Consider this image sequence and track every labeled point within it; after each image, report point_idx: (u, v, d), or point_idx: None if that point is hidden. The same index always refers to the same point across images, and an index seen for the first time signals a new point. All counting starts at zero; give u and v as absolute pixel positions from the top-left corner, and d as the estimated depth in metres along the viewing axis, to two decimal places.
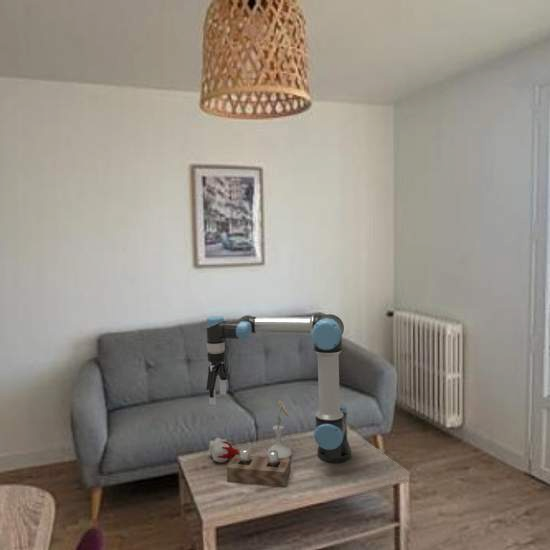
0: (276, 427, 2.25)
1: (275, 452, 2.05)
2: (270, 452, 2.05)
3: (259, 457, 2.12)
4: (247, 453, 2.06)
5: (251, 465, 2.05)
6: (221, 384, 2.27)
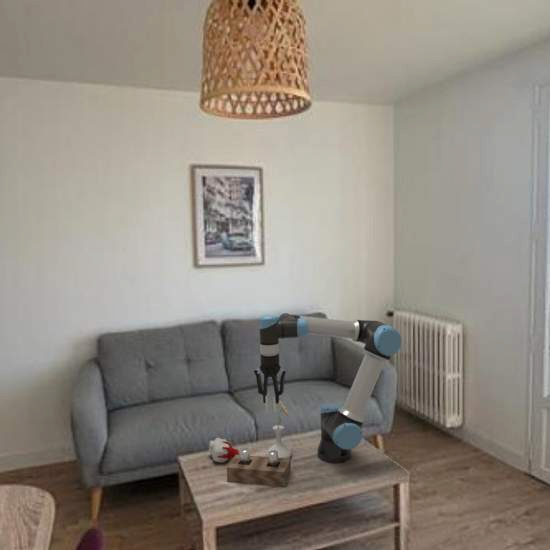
0: (276, 427, 2.25)
1: (275, 452, 2.05)
2: (270, 452, 2.05)
3: (259, 457, 2.12)
4: (247, 453, 2.06)
5: (251, 465, 2.05)
6: None
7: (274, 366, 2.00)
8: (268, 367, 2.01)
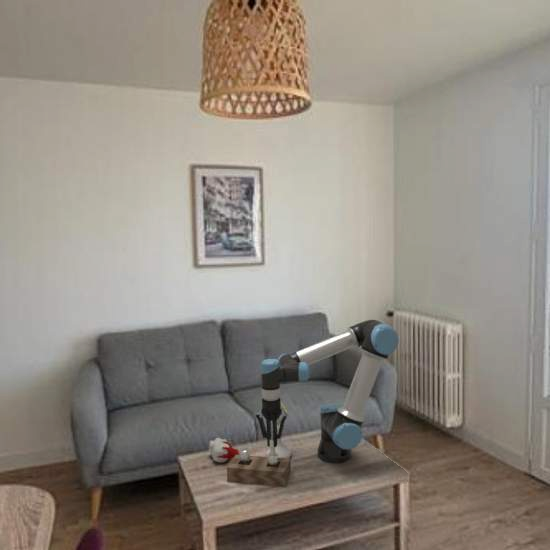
0: None
1: (275, 454, 2.05)
2: None
3: (259, 457, 2.12)
4: (247, 453, 2.06)
5: (251, 465, 2.05)
6: None
7: (276, 410, 2.02)
8: (269, 411, 2.02)
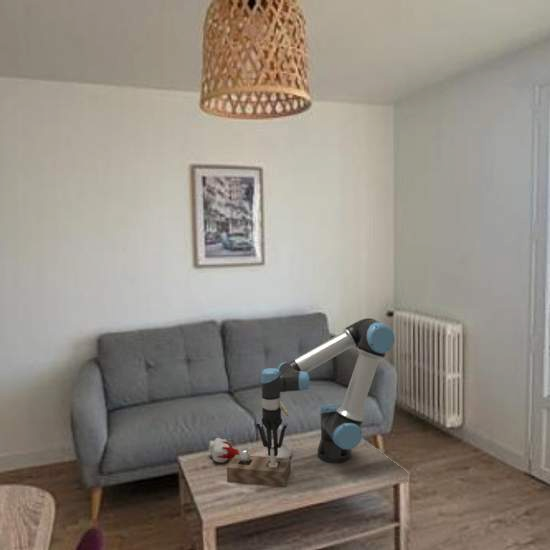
0: None
1: (275, 463, 2.05)
2: (270, 463, 2.05)
3: (259, 457, 2.12)
4: (247, 453, 2.06)
5: (251, 465, 2.05)
6: None
7: (276, 419, 2.02)
8: (270, 420, 2.03)
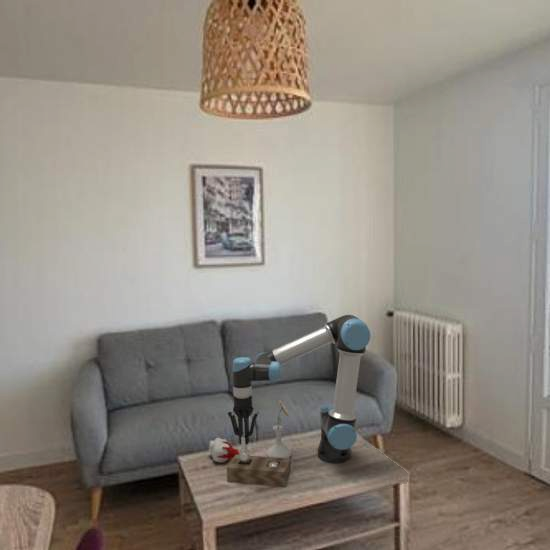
0: (276, 427, 2.25)
1: (275, 463, 2.05)
2: (270, 463, 2.05)
3: (259, 457, 2.12)
4: (247, 455, 2.06)
5: (251, 465, 2.05)
6: None
7: (247, 408, 2.04)
8: (241, 409, 2.05)
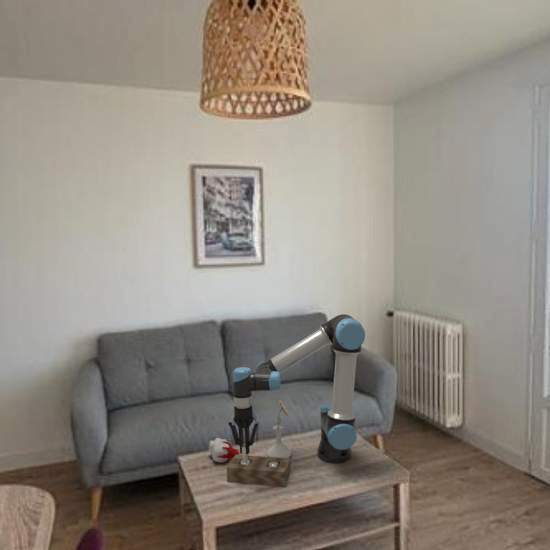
0: (276, 427, 2.25)
1: (275, 463, 2.05)
2: (270, 463, 2.05)
3: (259, 457, 2.12)
4: (247, 464, 2.06)
5: (251, 465, 2.05)
6: None
7: (247, 418, 2.05)
8: (241, 419, 2.05)
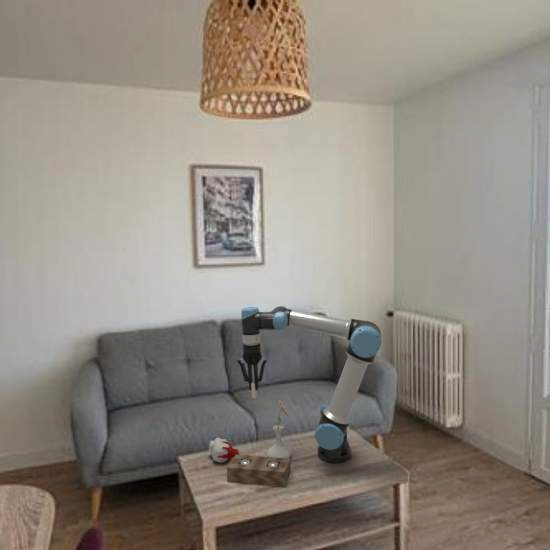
0: (276, 427, 2.25)
1: (275, 463, 2.05)
2: (270, 463, 2.05)
3: (259, 457, 2.12)
4: (247, 464, 2.06)
5: (251, 465, 2.05)
6: None
7: (256, 354, 2.13)
8: (250, 356, 2.14)
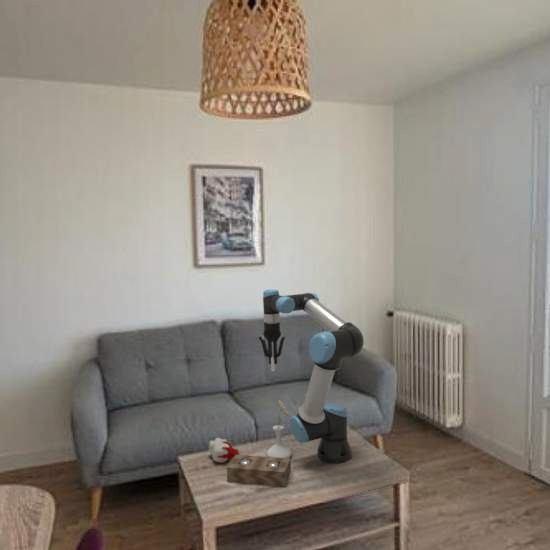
0: (276, 427, 2.25)
1: (275, 463, 2.05)
2: (270, 463, 2.05)
3: (259, 457, 2.12)
4: (247, 464, 2.06)
5: (251, 465, 2.05)
6: None
7: (276, 332, 2.37)
8: (270, 333, 2.38)
